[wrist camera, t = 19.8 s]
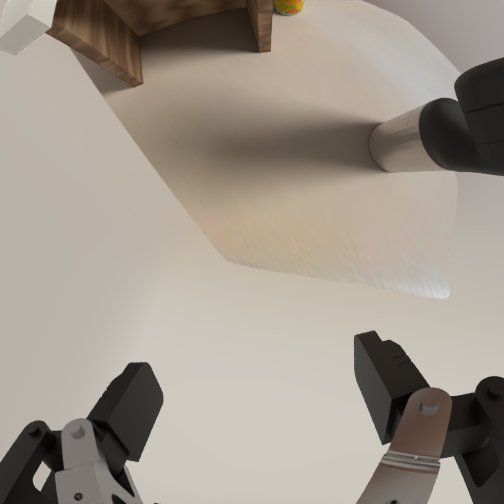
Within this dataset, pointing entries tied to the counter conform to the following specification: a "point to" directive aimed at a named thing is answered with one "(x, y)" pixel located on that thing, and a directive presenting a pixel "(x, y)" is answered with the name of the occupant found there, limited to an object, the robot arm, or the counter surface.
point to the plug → (24, 23)
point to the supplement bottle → (289, 6)
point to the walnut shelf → (140, 27)
